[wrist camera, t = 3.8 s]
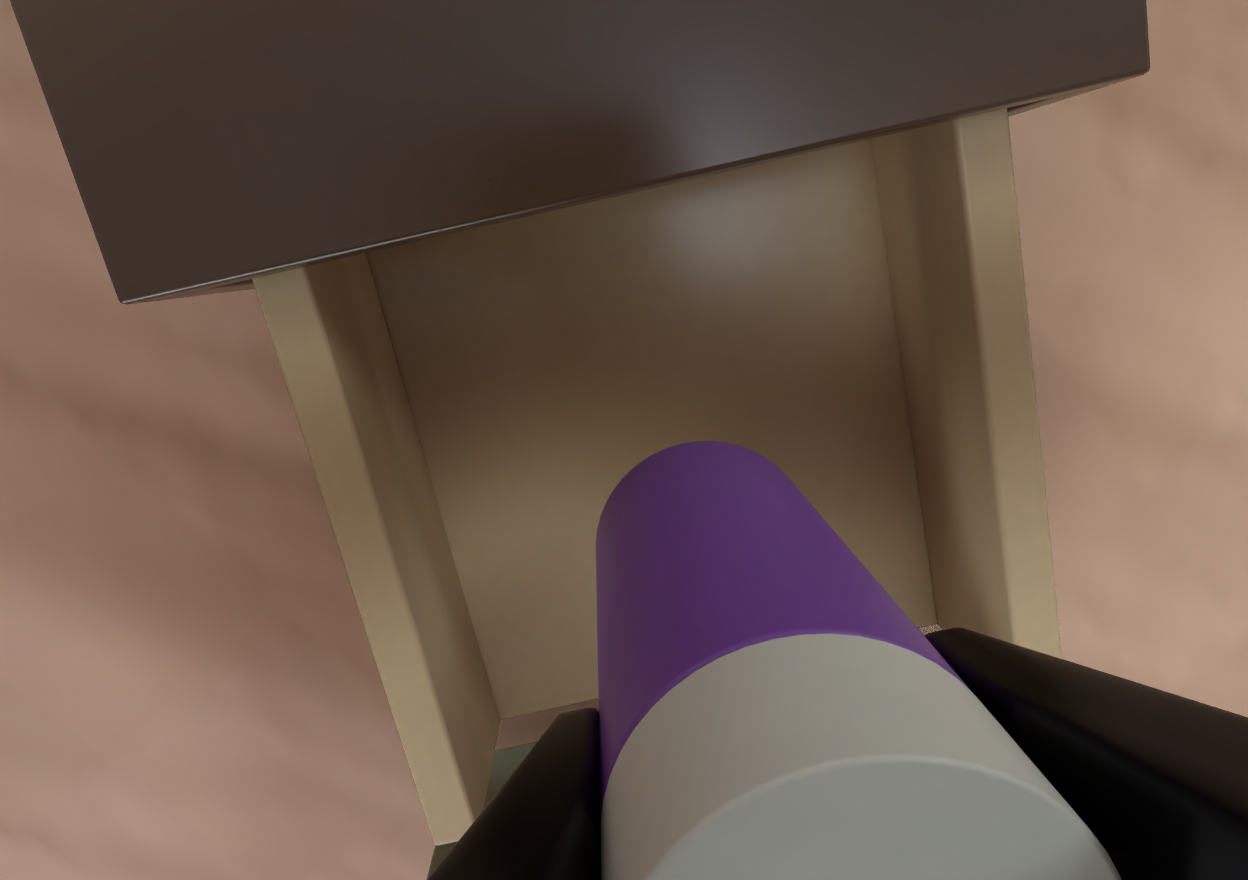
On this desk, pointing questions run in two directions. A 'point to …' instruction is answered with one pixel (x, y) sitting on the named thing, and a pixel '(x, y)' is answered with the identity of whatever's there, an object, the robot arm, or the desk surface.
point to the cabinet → (496, 107)
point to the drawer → (668, 413)
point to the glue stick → (791, 703)
